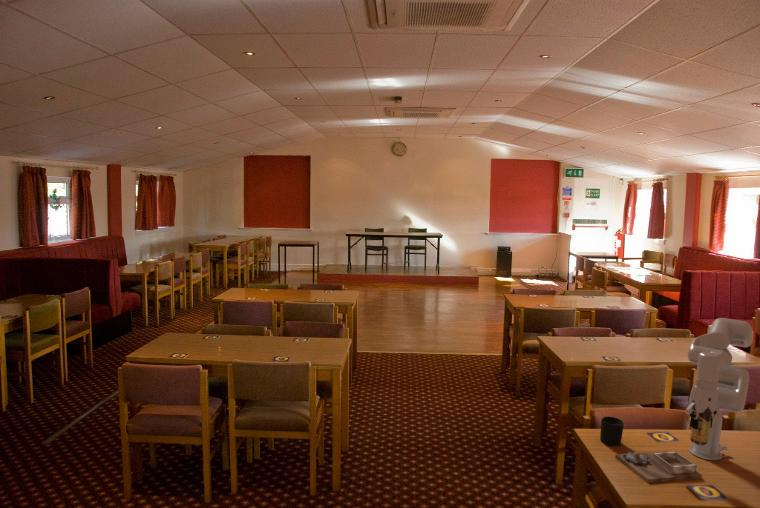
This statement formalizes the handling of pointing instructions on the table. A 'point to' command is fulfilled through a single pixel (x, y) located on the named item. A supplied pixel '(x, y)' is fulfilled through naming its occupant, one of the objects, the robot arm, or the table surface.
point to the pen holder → (611, 431)
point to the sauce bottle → (702, 428)
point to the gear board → (659, 466)
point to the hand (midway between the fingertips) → (700, 426)
